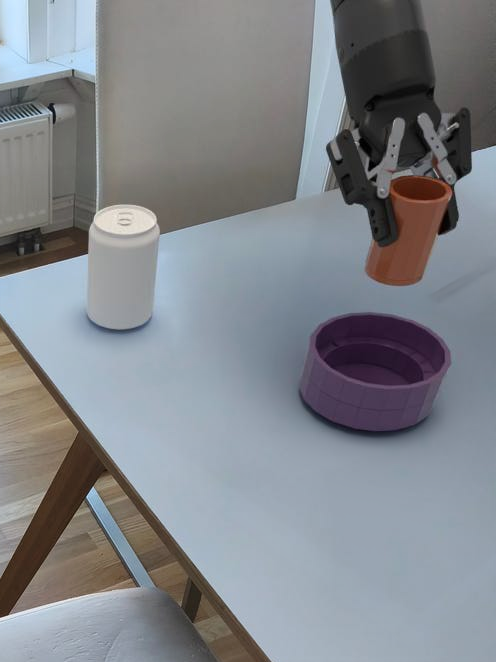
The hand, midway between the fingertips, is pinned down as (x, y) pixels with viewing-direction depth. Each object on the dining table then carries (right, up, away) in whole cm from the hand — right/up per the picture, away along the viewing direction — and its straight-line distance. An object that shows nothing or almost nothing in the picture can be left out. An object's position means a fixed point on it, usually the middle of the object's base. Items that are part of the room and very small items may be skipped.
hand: (418, 237), depth 83 cm
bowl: (+1, -11, +14) cm, 18 cm away
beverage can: (-25, +2, +27) cm, 37 cm away
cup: (0, -1, +4) cm, 5 cm away
